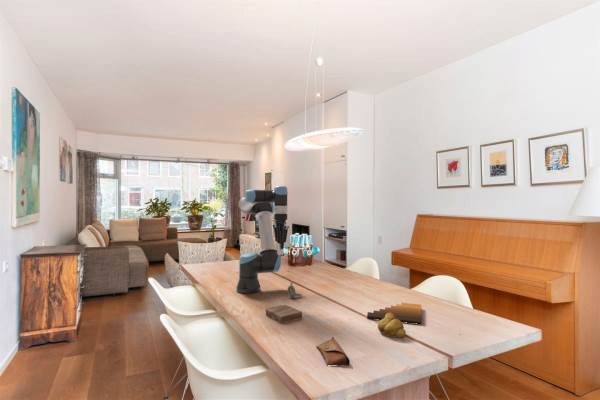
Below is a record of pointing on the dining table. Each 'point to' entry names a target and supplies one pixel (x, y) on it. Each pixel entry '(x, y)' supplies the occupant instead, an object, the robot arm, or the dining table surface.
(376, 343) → the dining table surface
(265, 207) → the robot arm
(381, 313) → the pan flute
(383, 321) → the bread roll
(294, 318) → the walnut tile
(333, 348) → the sunglasses case
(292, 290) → the pocket watch
